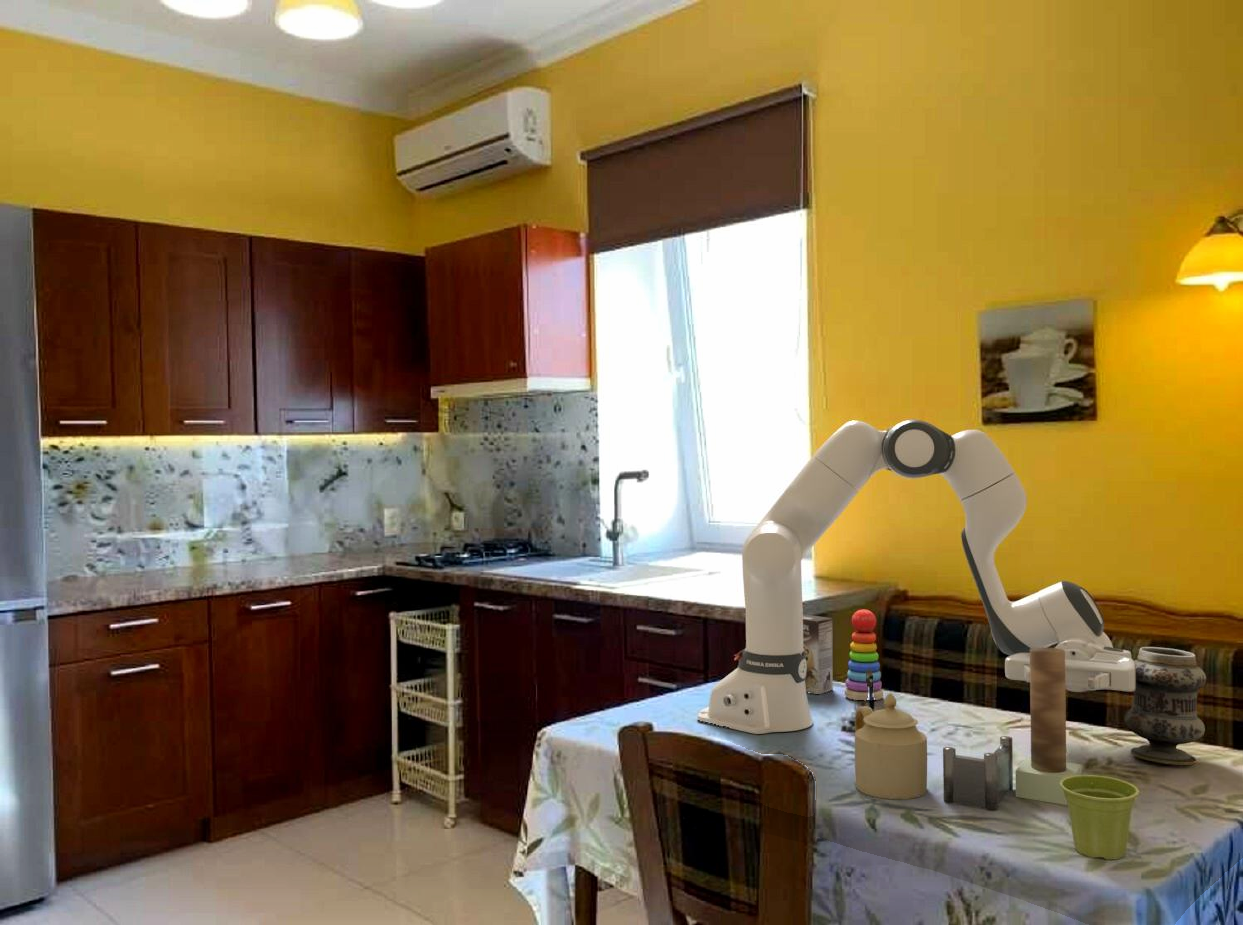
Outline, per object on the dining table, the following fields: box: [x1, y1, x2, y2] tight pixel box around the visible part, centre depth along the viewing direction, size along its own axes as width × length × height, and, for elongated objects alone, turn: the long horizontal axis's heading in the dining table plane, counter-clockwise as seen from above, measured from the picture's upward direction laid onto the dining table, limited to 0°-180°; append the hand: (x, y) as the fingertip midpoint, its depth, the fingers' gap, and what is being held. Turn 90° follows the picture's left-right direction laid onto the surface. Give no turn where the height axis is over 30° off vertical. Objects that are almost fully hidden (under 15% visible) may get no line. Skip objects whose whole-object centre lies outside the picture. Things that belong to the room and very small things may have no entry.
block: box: [1015, 756, 1083, 806], centre depth 158 cm, size 8×8×4 cm
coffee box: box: [803, 613, 834, 695], centre depth 226 cm, size 9×6×16 cm
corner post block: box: [942, 735, 1014, 812], centre depth 158 cm, size 8×12×8 cm, turn 147°
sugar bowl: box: [854, 692, 928, 800], centre depth 163 cm, size 15×11×15 cm
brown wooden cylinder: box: [1029, 647, 1067, 773], centre depth 158 cm, size 5×5×18 cm
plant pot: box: [1060, 774, 1140, 860], centre depth 135 cm, size 9×9×9 cm
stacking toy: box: [844, 609, 884, 702], centre depth 218 cm, size 8×8×19 cm
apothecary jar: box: [1123, 646, 1207, 766], centre depth 173 cm, size 12×12×18 cm
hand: (1061, 680), depth 166 cm, fingers open, 8 cm apart
